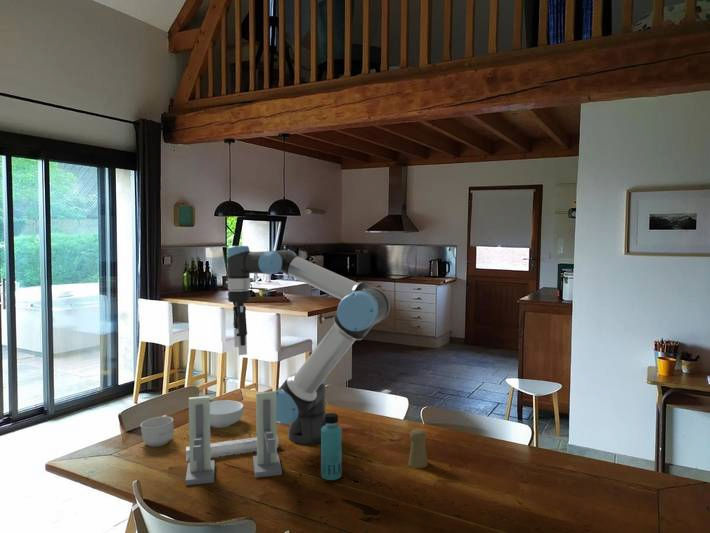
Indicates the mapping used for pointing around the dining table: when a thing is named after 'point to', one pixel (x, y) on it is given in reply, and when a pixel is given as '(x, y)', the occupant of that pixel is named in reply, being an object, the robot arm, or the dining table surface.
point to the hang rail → (230, 447)
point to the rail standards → (199, 437)
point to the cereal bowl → (225, 413)
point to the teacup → (157, 431)
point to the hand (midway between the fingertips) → (240, 350)
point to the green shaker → (418, 449)
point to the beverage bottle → (331, 448)
